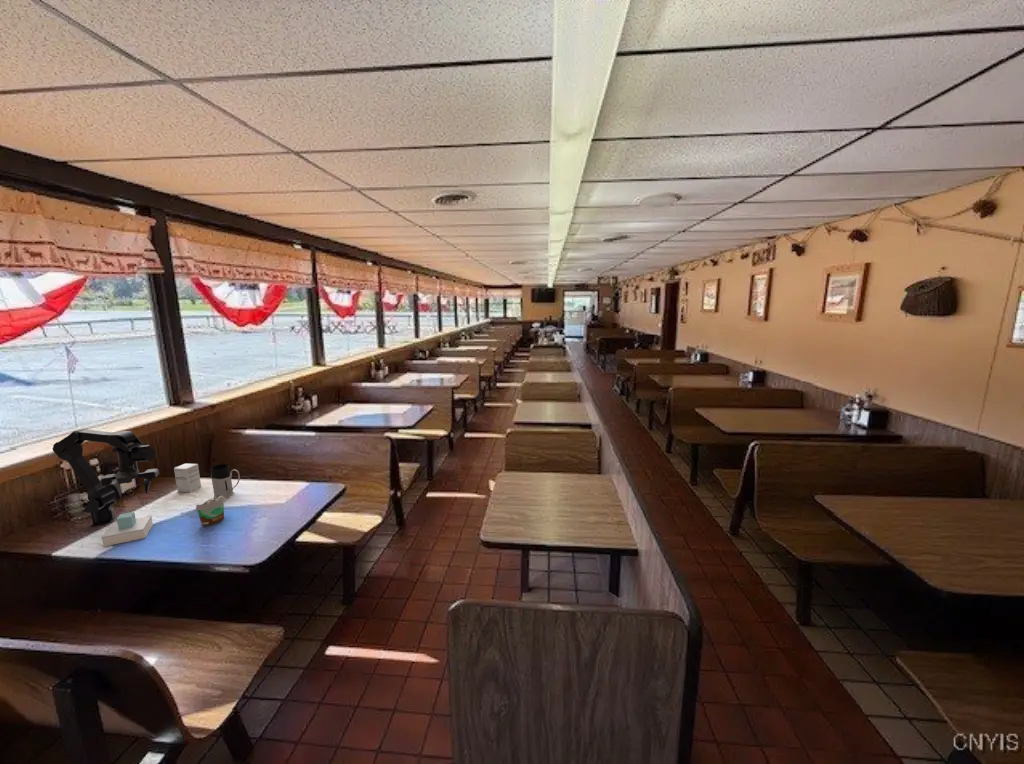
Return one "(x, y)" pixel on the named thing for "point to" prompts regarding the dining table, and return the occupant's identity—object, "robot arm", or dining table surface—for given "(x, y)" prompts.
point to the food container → (211, 511)
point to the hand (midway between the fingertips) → (133, 495)
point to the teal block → (126, 520)
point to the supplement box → (187, 477)
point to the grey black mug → (222, 480)
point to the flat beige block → (127, 532)
